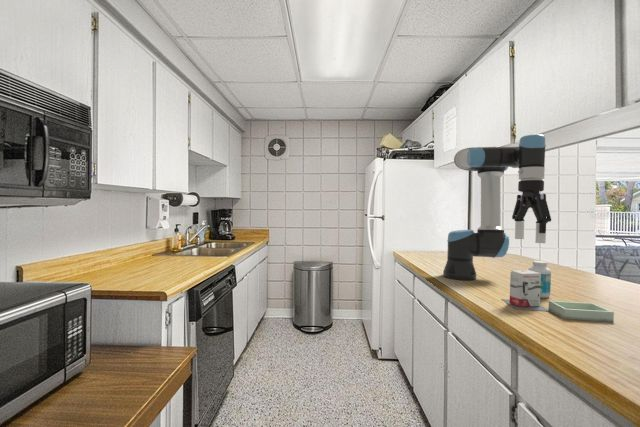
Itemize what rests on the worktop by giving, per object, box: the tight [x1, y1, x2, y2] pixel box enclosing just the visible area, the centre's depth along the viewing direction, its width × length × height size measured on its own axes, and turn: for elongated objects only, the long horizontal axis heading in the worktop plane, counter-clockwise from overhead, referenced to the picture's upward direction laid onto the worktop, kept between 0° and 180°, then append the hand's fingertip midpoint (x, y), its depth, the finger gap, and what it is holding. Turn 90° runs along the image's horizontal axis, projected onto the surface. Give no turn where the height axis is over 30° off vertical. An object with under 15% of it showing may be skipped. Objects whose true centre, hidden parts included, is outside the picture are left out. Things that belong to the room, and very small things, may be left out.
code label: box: [501, 298, 551, 312], centre depth 115 cm, size 12×11×1 cm
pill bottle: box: [527, 260, 552, 299], centre depth 128 cm, size 8×7×14 cm
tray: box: [548, 300, 615, 323], centre depth 104 cm, size 9×13×3 cm
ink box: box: [509, 269, 541, 307], centre depth 115 cm, size 9×5×12 cm, turn 102°
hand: (529, 241), depth 114 cm, fingers open, 13 cm apart
